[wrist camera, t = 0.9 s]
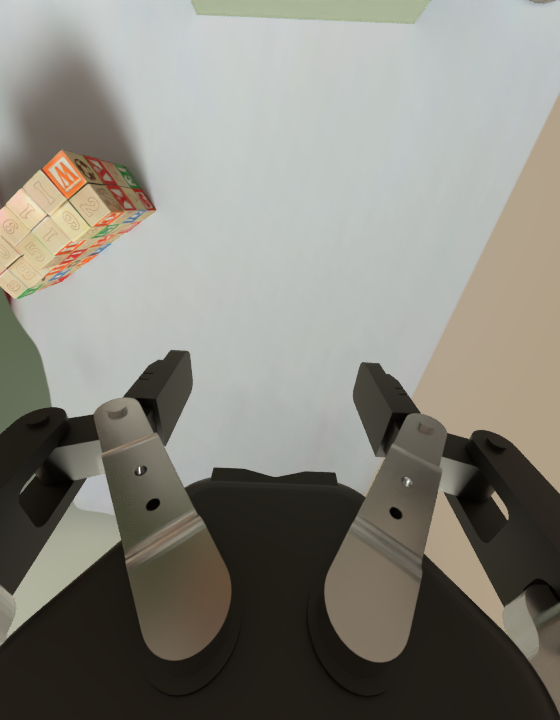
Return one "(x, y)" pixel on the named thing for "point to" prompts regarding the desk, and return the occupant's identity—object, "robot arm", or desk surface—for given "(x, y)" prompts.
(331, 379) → the desk surface
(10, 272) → the stack of blocks
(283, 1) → the upright pale green block
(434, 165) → the desk surface
